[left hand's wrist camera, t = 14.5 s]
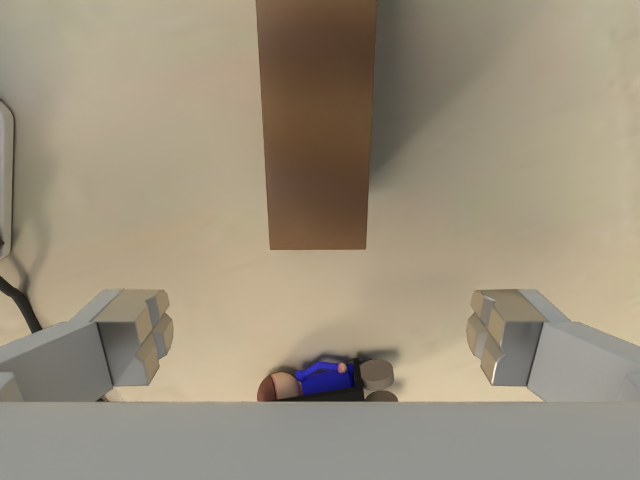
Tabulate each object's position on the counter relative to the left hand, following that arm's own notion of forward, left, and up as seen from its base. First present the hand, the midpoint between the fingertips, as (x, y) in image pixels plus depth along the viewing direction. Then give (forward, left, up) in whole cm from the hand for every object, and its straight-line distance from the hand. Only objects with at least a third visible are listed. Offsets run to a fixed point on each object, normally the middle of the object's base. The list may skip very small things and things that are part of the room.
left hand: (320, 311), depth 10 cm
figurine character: (-25, -4, -26) cm, 36 cm away
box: (+7, +1, -26) cm, 27 cm away
